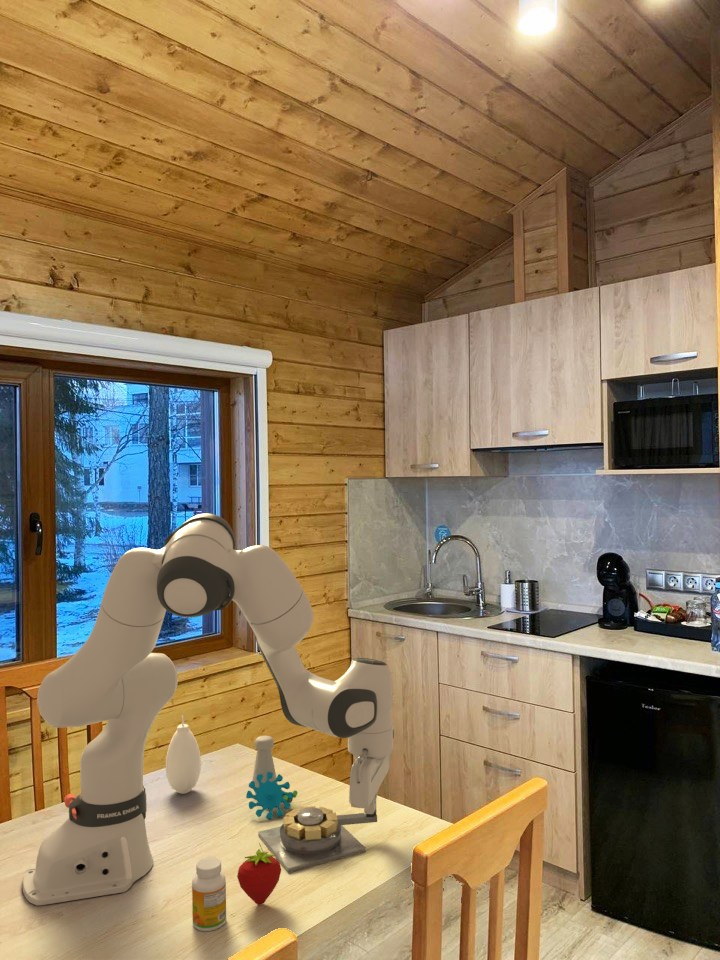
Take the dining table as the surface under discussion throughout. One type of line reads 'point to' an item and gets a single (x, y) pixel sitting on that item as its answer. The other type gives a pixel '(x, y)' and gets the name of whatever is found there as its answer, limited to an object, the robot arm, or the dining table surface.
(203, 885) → the supplement bottle
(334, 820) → the ring nut
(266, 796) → the teal virus model
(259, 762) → the salt shaker
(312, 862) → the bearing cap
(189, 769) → the white air blower bulb
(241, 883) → the strawberry
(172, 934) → the dining table surface
